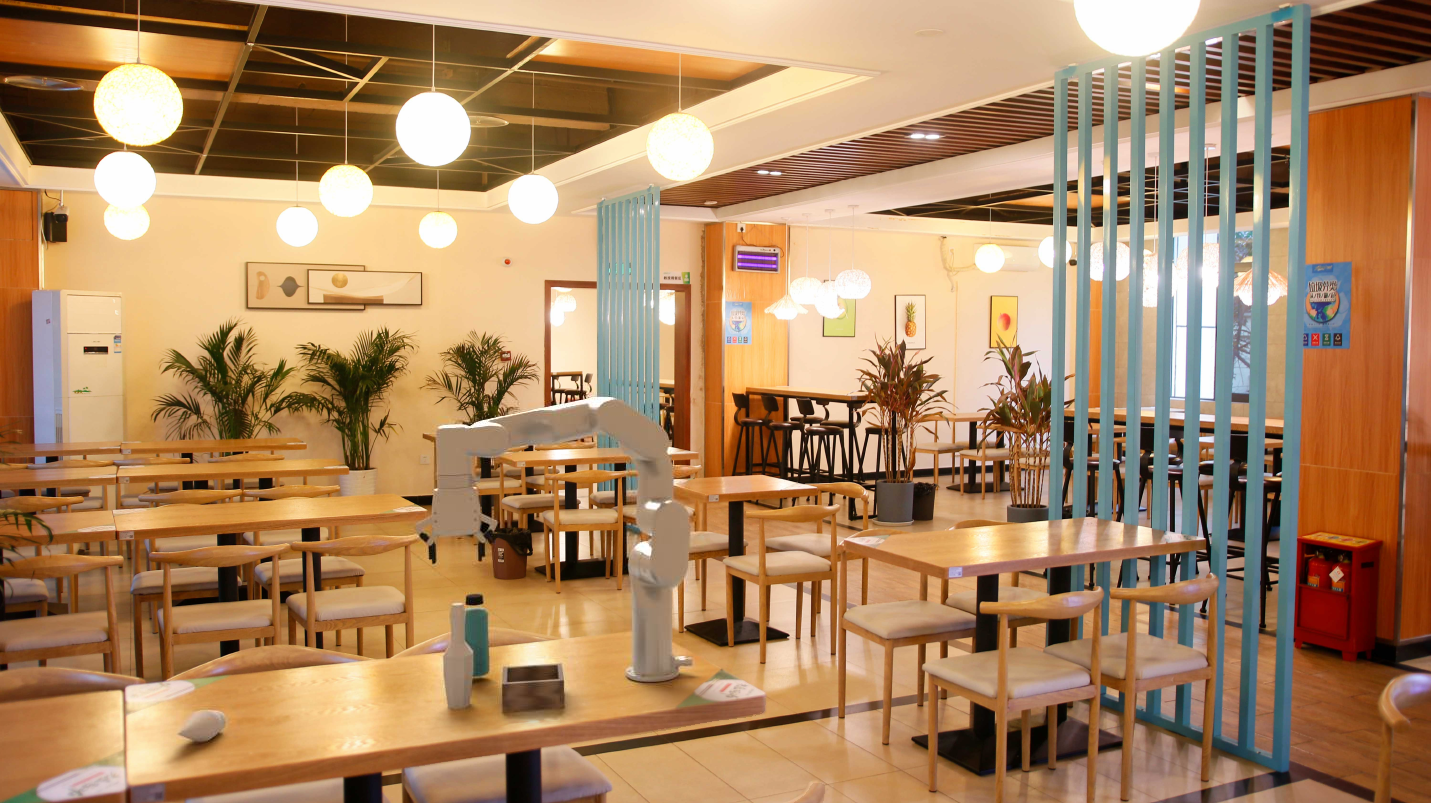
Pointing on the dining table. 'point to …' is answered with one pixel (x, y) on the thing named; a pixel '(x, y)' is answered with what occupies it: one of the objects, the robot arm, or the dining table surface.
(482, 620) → the beverage bottle
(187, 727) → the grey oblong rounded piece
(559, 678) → the walnut box
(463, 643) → the low poly bottle
